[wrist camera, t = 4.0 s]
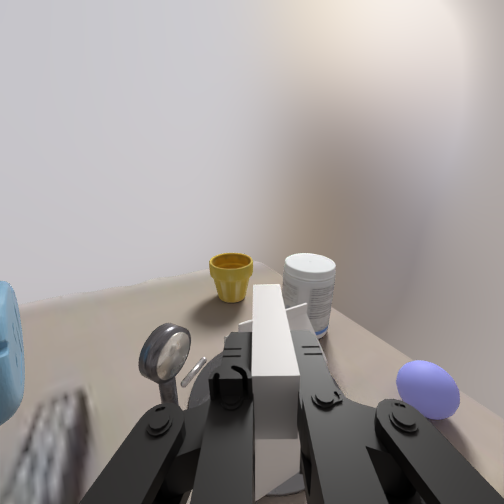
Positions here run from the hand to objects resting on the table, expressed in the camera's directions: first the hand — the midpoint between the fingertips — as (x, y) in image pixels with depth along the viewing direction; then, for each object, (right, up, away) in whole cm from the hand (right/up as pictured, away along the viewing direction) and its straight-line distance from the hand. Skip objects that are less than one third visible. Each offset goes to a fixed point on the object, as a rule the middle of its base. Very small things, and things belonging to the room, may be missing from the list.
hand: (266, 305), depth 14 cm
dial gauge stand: (-10, -20, +14) cm, 26 cm away
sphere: (+23, -19, +20) cm, 36 cm away
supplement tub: (+10, -13, +36) cm, 39 cm away
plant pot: (-6, -8, +47) cm, 48 cm away
